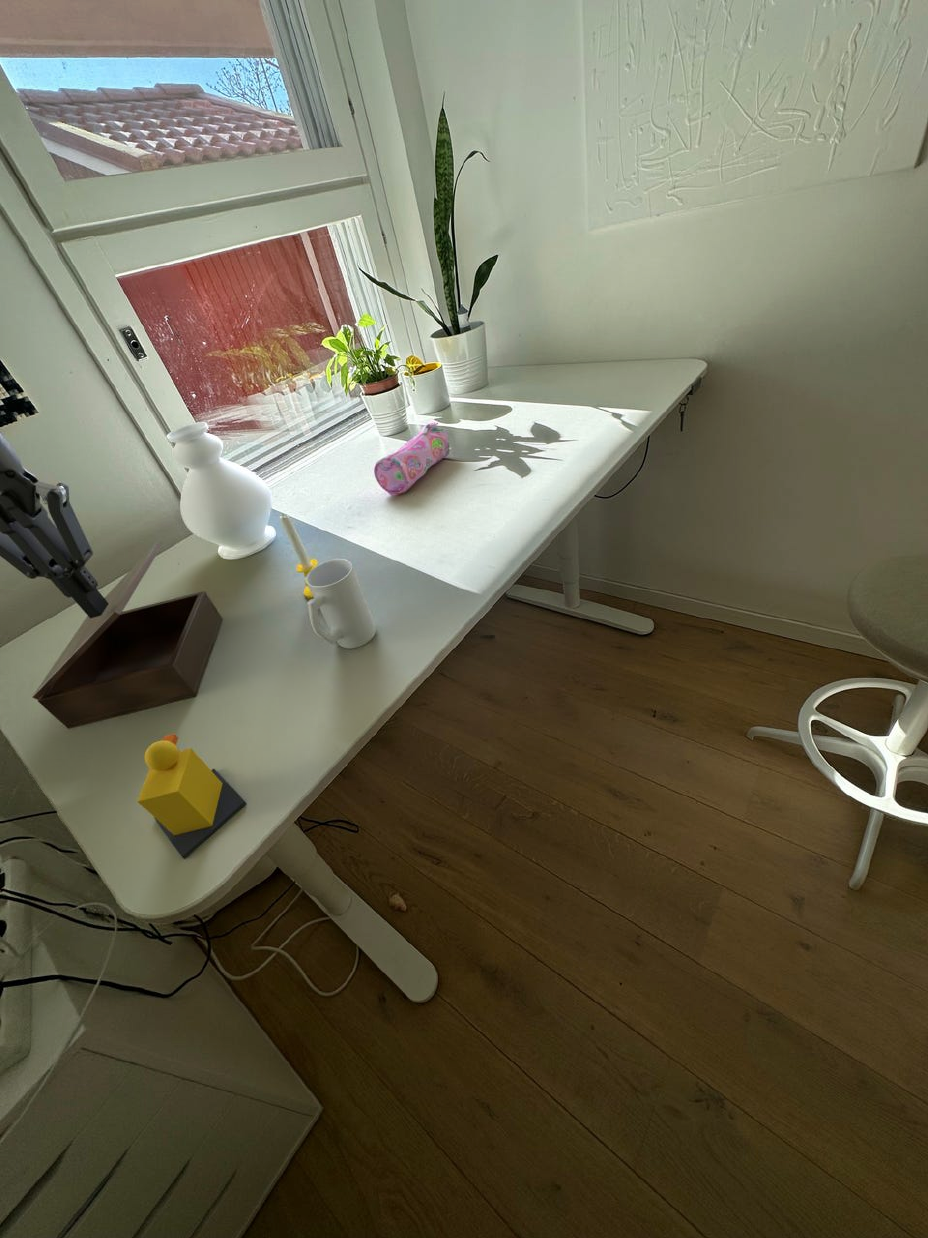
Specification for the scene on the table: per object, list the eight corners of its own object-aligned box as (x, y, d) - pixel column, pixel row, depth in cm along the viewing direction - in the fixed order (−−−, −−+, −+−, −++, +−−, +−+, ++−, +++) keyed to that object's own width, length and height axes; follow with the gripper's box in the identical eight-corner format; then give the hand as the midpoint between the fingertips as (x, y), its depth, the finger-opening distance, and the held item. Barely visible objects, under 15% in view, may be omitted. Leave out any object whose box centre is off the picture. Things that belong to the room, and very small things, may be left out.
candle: (321, 578, 95) (286, 502, 86) (338, 585, 92) (304, 507, 83) (298, 594, 93) (260, 518, 83) (315, 602, 90) (277, 524, 80)
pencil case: (426, 455, 131) (417, 419, 125) (457, 455, 126) (449, 419, 120) (377, 496, 117) (365, 458, 112) (410, 499, 113) (398, 460, 107)
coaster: (184, 859, 56) (181, 857, 56) (156, 819, 61) (153, 817, 61) (246, 803, 60) (244, 801, 60) (215, 770, 65) (213, 768, 65)
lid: (163, 542, 81) (158, 539, 81) (120, 615, 67) (113, 611, 66) (92, 618, 88) (87, 616, 87) (37, 700, 73) (31, 697, 72)
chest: (223, 618, 92) (204, 590, 88) (196, 696, 77) (172, 666, 73) (114, 646, 92) (91, 619, 88) (67, 729, 77) (37, 701, 73)
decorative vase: (282, 513, 121) (231, 404, 105) (293, 545, 108) (236, 426, 92) (206, 540, 118) (142, 433, 102) (207, 577, 104) (133, 459, 89)
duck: (174, 835, 58) (119, 785, 52) (190, 782, 64) (142, 731, 57) (212, 826, 58) (161, 775, 52) (225, 773, 64) (180, 721, 57)
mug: (351, 618, 84) (324, 556, 76) (385, 623, 81) (361, 560, 74) (314, 661, 78) (281, 599, 70) (350, 669, 75) (319, 605, 67)
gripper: (33, 414, 58) (155, 583, 72) (-80, 443, 58) (65, 606, 73) (-4, 437, 52) (137, 615, 67) (-129, 470, 52) (39, 641, 67)
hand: (99, 610), depth 70 cm, fingers closed
